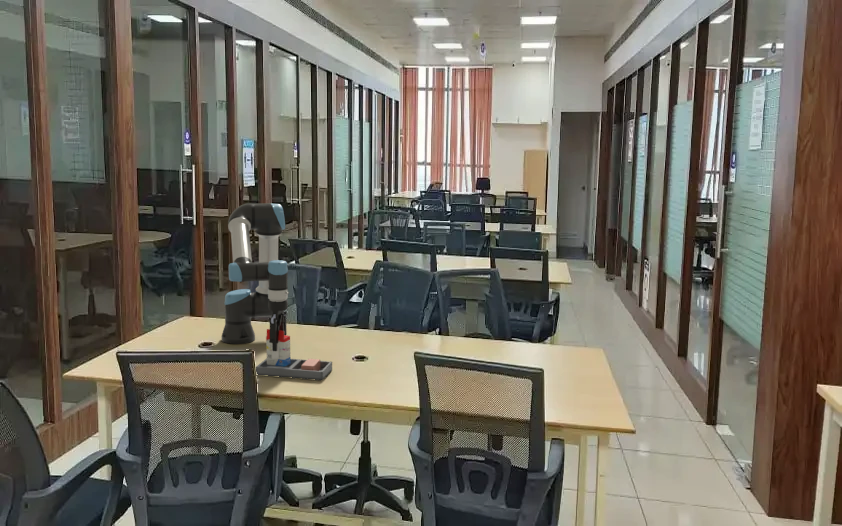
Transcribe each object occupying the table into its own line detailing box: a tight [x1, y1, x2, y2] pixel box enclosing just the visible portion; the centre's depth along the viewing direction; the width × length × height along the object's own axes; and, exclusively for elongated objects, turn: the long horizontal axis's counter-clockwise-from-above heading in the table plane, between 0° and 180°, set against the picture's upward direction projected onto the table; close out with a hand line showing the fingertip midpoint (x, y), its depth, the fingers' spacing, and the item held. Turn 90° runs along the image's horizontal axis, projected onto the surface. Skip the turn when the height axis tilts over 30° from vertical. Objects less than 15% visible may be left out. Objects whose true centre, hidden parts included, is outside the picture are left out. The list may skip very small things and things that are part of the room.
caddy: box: [255, 358, 333, 381], centre depth 274 cm, size 27×14×4 cm, turn 82°
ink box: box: [265, 328, 292, 367], centre depth 273 cm, size 8×5×15 cm, turn 71°
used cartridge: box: [301, 358, 321, 371], centre depth 273 cm, size 5×9×4 cm, turn 172°
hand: (278, 356), depth 274 cm, fingers closed on ink box, 5 cm apart
